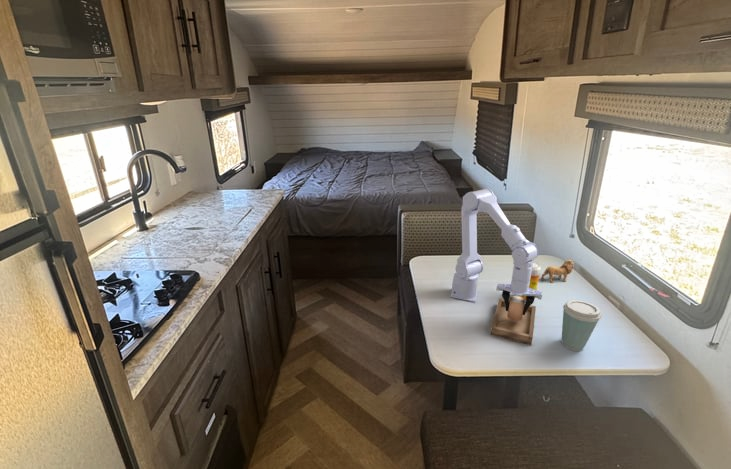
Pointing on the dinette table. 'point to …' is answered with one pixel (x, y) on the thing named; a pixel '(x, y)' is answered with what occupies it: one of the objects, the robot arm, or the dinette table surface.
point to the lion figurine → (559, 270)
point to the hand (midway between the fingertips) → (515, 311)
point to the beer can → (533, 278)
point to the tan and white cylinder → (516, 308)
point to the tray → (513, 324)
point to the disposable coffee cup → (578, 323)
